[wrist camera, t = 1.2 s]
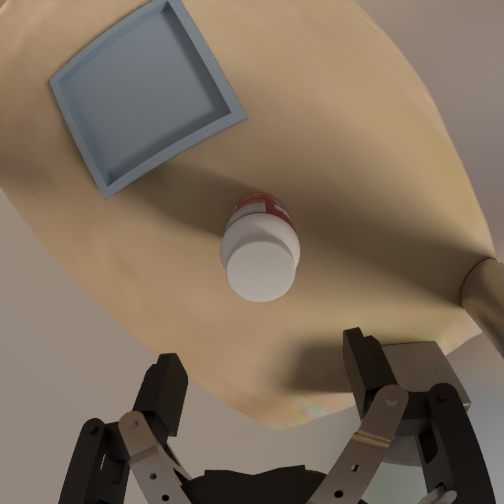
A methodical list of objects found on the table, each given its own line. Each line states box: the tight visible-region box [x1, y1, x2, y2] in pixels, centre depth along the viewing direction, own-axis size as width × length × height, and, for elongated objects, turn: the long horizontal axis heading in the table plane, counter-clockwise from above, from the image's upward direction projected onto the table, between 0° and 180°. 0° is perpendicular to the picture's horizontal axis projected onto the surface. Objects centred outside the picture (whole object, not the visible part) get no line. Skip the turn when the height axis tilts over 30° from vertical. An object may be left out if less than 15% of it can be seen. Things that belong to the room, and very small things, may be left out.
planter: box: [353, 342, 471, 467], centre depth 29 cm, size 16×8×19 cm, turn 128°
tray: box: [49, 0, 248, 200], centre depth 22 cm, size 16×16×2 cm
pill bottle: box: [220, 193, 300, 302], centre depth 24 cm, size 6×6×11 cm
